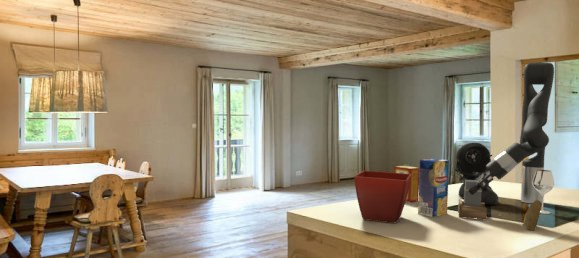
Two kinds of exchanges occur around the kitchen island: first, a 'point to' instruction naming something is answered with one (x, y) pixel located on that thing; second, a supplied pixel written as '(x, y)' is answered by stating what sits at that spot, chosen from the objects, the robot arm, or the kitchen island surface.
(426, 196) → the beverage box
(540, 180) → the wineglass
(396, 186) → the plant pot
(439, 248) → the kitchen island surface
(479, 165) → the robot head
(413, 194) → the baking soda box
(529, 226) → the rock
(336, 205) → the kitchen island surface
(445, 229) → the kitchen island surface
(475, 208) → the brown open box
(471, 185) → the grey lidded box
